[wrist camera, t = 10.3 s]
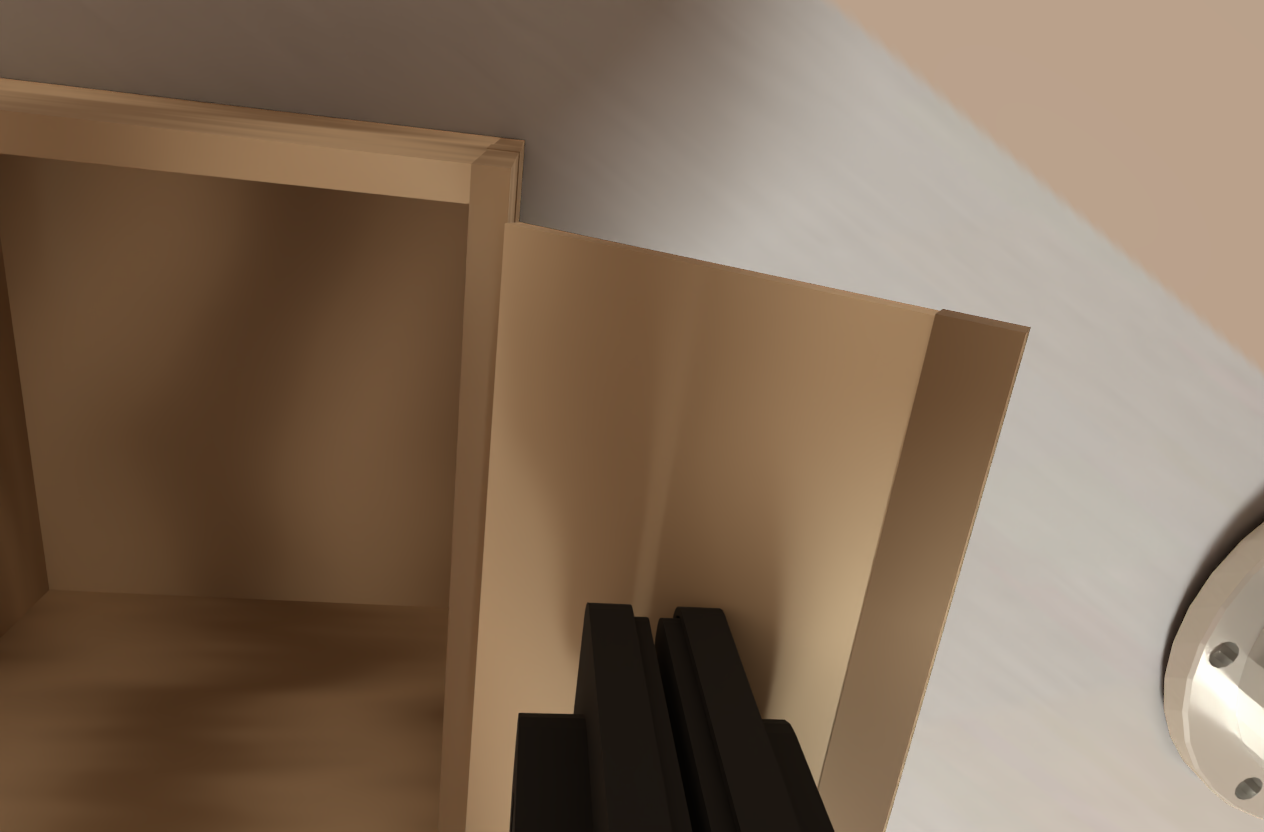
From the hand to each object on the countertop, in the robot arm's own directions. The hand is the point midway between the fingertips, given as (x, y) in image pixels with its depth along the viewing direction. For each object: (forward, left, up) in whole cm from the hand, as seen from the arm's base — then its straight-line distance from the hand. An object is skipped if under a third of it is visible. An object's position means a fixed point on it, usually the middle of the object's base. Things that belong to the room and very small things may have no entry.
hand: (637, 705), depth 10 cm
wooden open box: (+8, 0, -11) cm, 13 cm away
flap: (0, 0, 0) cm, 0 cm away
